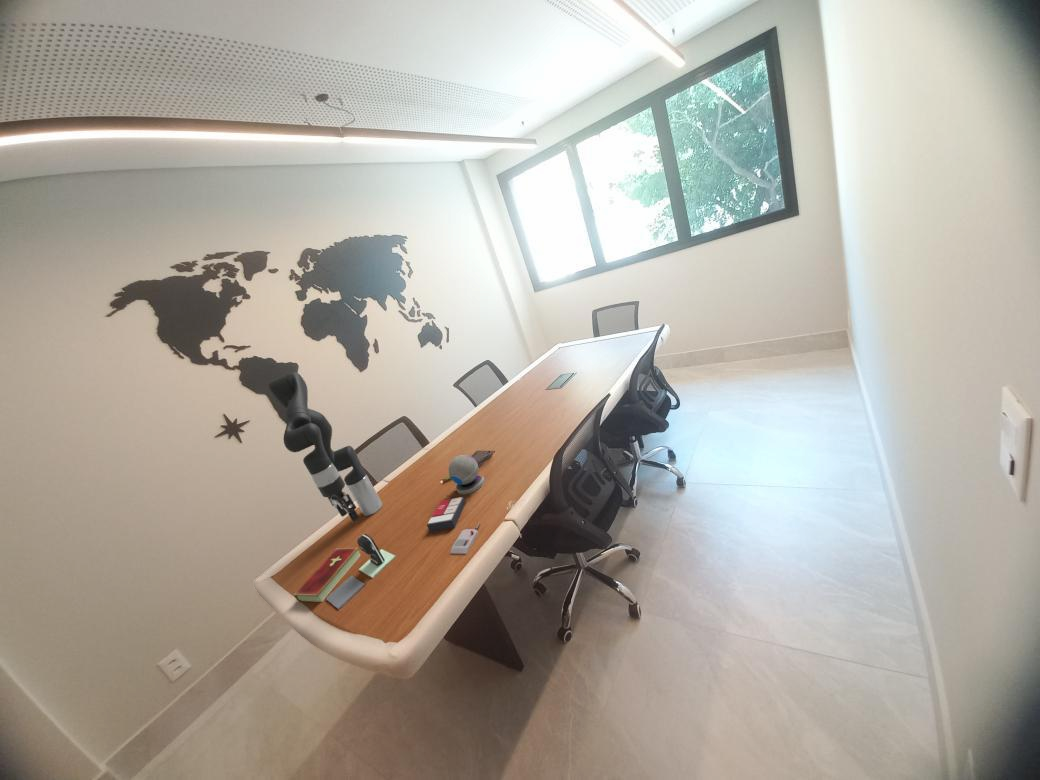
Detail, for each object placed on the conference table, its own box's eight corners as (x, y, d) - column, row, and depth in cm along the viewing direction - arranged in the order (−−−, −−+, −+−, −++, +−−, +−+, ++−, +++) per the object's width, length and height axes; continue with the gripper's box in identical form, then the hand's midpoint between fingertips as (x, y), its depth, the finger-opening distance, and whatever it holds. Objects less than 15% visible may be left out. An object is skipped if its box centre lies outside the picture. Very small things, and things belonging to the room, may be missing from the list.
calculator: (463, 495, 155) (450, 519, 141) (466, 504, 156) (455, 528, 142) (439, 500, 158) (425, 523, 144) (443, 508, 159) (429, 532, 145)
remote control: (448, 559, 128) (444, 552, 127) (468, 525, 141) (465, 519, 140) (464, 559, 125) (461, 552, 124) (483, 525, 138) (480, 519, 137)
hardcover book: (298, 602, 133) (292, 594, 132) (340, 555, 151) (335, 547, 150) (322, 603, 128) (316, 595, 127) (362, 555, 146) (357, 547, 145)
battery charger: (368, 563, 139) (353, 539, 135) (377, 555, 141) (363, 532, 138) (376, 568, 134) (362, 544, 131) (385, 560, 137) (371, 536, 133)
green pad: (359, 570, 138) (358, 569, 137) (382, 550, 144) (381, 549, 144) (372, 578, 131) (372, 577, 131) (395, 556, 138) (395, 555, 138)
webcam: (489, 477, 168) (477, 449, 163) (472, 496, 158) (459, 466, 154) (468, 475, 176) (456, 448, 171) (451, 493, 166) (438, 465, 161)
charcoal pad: (326, 599, 129) (325, 598, 129) (352, 576, 136) (351, 575, 135) (338, 609, 122) (338, 608, 122) (365, 585, 129) (364, 584, 129)
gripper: (309, 483, 128) (332, 520, 133) (326, 489, 119) (350, 529, 124) (329, 470, 133) (350, 506, 138) (347, 475, 124) (369, 513, 129)
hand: (350, 517), depth 131 cm, fingers open, 8 cm apart
